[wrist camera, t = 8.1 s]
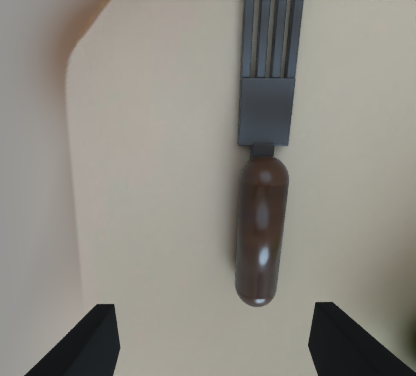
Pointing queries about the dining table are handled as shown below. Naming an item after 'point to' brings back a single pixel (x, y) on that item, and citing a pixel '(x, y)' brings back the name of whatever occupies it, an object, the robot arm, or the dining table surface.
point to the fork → (264, 150)
